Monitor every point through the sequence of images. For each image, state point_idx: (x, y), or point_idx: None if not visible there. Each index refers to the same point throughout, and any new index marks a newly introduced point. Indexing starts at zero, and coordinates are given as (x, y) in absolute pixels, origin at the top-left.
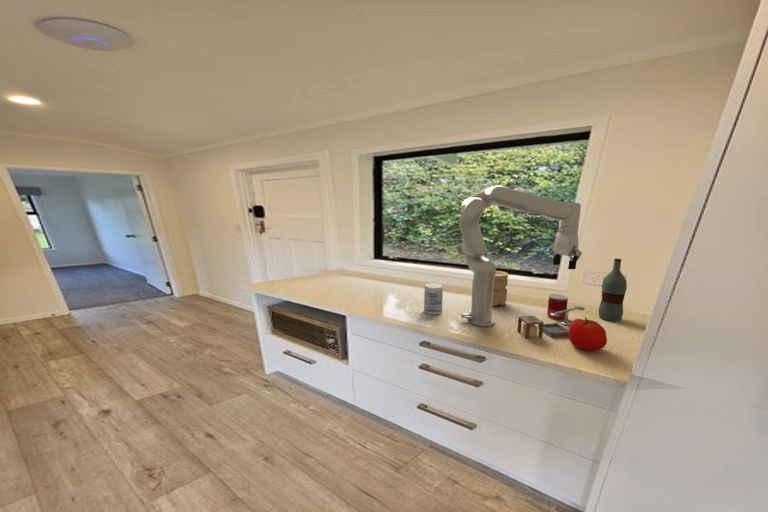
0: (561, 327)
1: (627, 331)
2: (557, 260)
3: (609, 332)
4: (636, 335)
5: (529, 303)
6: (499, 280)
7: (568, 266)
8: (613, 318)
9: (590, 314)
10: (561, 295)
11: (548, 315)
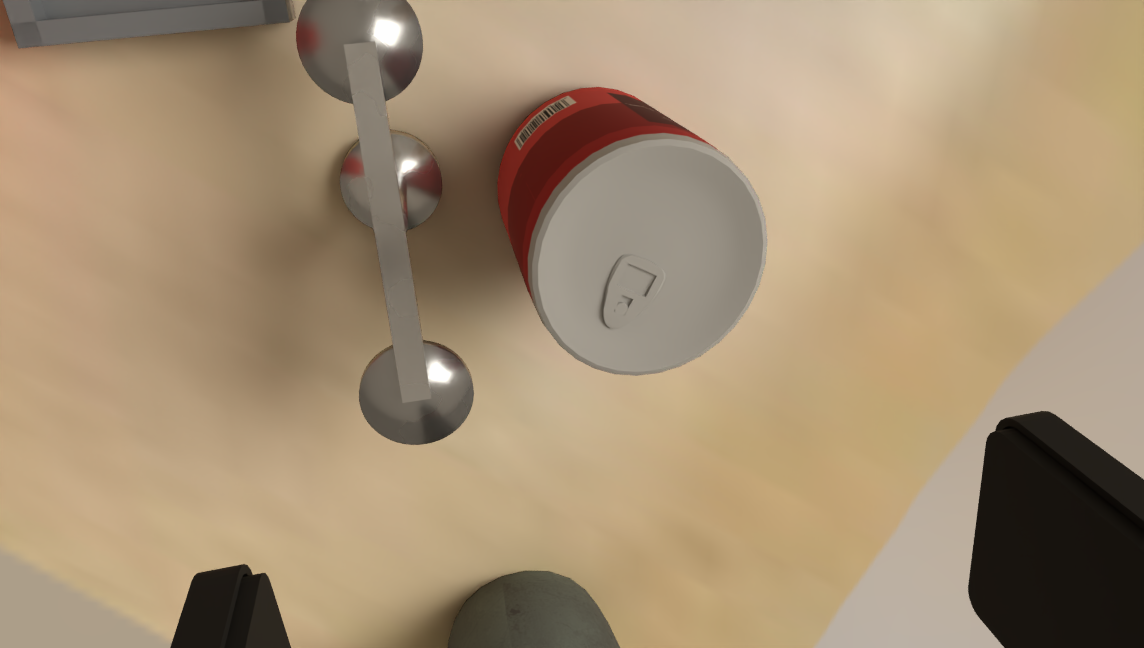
0: (164, 9)
1: None
2: (1082, 619)
3: (212, 478)
4: None
5: (1021, 91)
6: None
7: (223, 627)
8: (450, 645)
9: (635, 540)
10: (700, 337)
11: (593, 88)
